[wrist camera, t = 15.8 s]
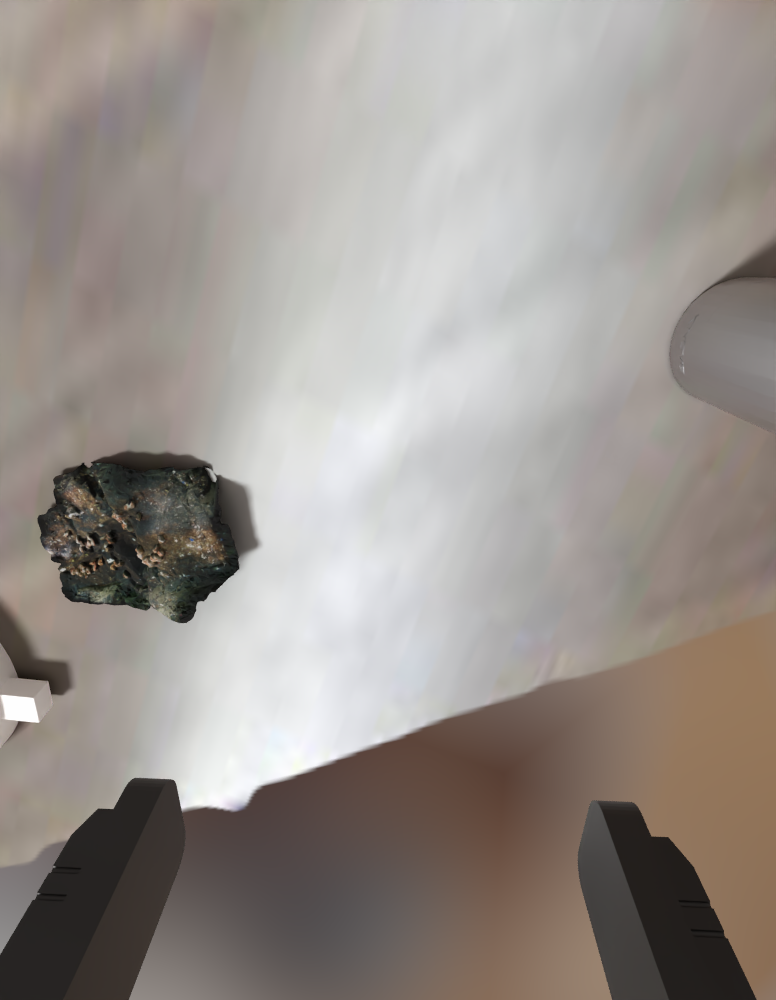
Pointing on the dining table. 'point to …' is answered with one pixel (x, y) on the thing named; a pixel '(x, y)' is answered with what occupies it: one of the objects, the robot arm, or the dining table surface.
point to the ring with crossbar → (20, 698)
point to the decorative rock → (139, 538)
